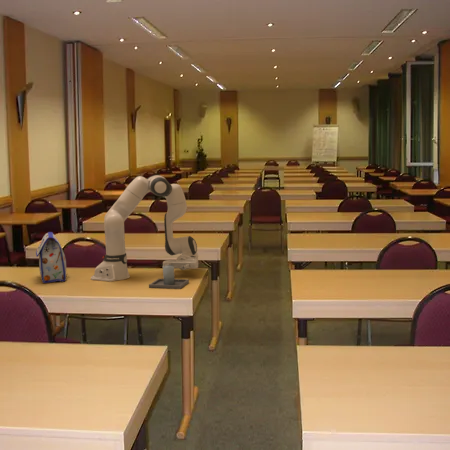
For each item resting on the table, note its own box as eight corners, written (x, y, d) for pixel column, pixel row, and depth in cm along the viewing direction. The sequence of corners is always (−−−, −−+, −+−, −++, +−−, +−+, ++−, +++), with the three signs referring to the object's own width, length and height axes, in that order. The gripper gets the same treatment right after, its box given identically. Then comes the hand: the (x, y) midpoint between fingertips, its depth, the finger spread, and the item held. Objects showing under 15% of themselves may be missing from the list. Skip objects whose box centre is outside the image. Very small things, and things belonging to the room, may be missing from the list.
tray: (149, 287, 347) (148, 284, 347) (158, 281, 360) (158, 278, 360) (180, 288, 342) (180, 285, 342) (188, 282, 356) (188, 279, 355)
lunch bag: (37, 276, 386) (34, 232, 382) (66, 273, 390) (62, 230, 386) (38, 284, 364) (34, 238, 360) (68, 281, 369) (64, 235, 365)
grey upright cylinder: (162, 285, 349) (161, 267, 348) (166, 282, 355) (165, 265, 353) (172, 285, 348) (171, 267, 346) (176, 283, 353) (175, 265, 352)
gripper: (167, 256, 377) (158, 261, 364) (200, 256, 371) (192, 262, 358) (167, 266, 378) (159, 272, 365) (200, 267, 372) (193, 273, 359)
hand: (175, 267), depth 361 cm, fingers open, 8 cm apart
